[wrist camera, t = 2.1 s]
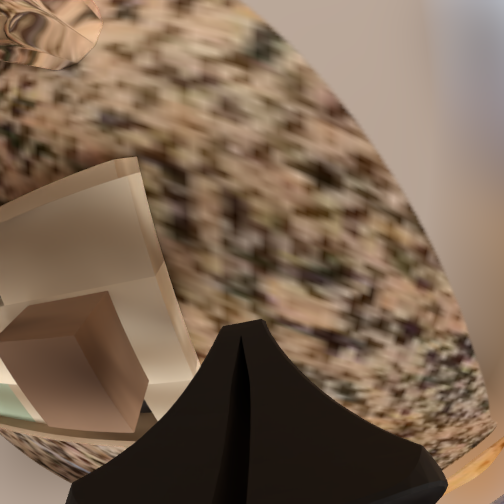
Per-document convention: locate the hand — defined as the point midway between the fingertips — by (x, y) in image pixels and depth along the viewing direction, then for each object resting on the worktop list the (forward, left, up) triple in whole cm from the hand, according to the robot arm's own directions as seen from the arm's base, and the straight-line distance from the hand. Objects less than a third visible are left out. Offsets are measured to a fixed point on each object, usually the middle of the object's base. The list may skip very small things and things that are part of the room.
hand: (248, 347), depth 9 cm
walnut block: (0, +7, -2) cm, 7 cm away
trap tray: (0, +12, -3) cm, 12 cm away
